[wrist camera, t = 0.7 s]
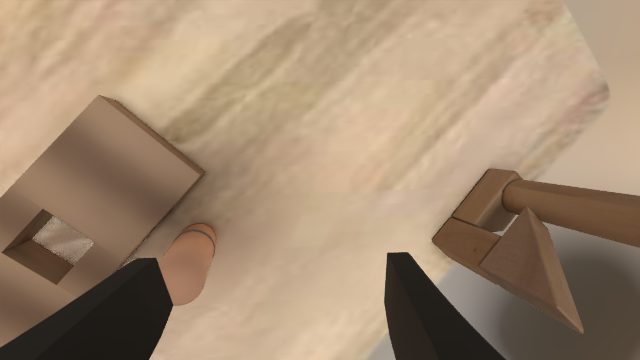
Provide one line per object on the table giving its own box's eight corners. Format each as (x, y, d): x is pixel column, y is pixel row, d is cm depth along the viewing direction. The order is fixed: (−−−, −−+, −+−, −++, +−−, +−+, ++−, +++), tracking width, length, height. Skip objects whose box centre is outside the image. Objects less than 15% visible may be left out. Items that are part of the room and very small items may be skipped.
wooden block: (429, 240, 33) (628, 347, 16) (488, 167, 34) (740, 193, 17) (450, 258, 34) (657, 379, 17) (506, 187, 35) (763, 232, 18)
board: (47, 346, 26) (21, 372, 23) (-63, 288, 23) (-107, 309, 20) (205, 171, 27) (200, 175, 24) (116, 100, 24) (98, 94, 22)
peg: (202, 261, 28) (181, 315, 19) (172, 240, 27) (136, 287, 18) (226, 234, 28) (216, 276, 19) (197, 212, 27) (173, 246, 18)
